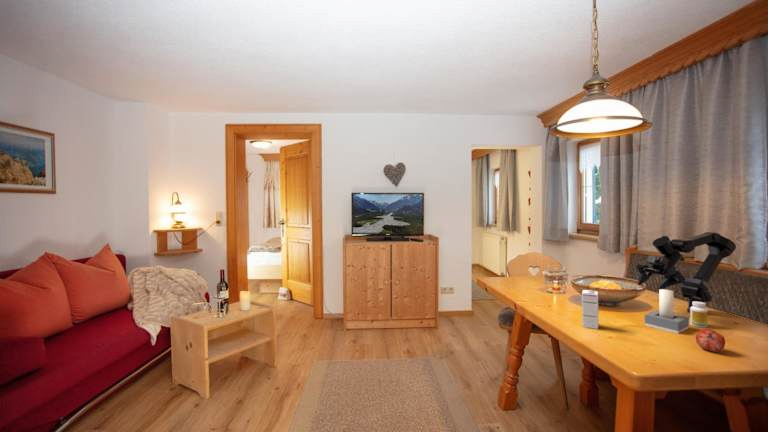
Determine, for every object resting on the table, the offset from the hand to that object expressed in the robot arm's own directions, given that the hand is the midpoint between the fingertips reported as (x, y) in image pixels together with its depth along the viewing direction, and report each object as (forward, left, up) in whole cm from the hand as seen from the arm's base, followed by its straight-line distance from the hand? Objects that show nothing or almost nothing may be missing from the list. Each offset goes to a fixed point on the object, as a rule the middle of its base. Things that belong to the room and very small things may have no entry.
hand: (648, 286), depth 151 cm
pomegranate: (+30, +19, -14) cm, 38 cm away
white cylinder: (+11, +7, -12) cm, 18 cm away
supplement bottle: (0, +17, -14) cm, 22 cm away
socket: (+11, +7, -14) cm, 18 cm away
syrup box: (+30, -17, -14) cm, 37 cm away
